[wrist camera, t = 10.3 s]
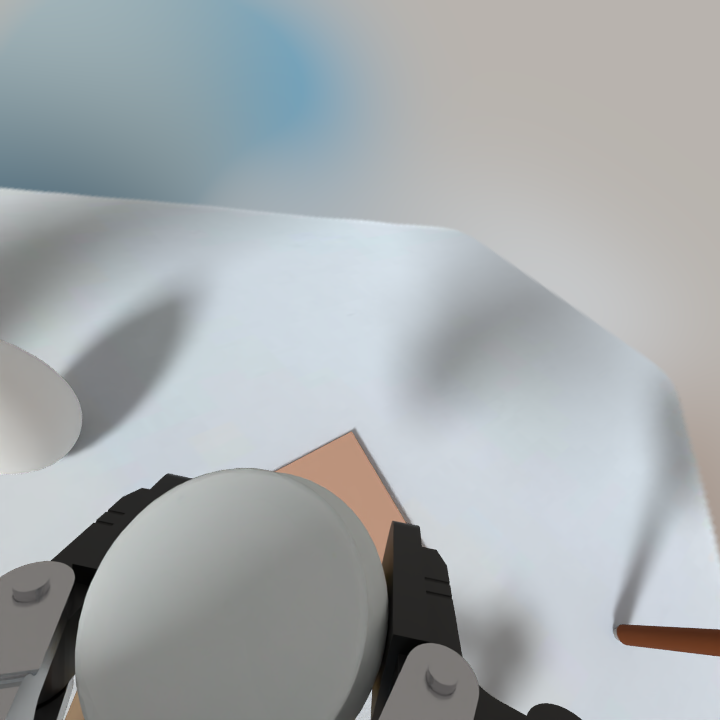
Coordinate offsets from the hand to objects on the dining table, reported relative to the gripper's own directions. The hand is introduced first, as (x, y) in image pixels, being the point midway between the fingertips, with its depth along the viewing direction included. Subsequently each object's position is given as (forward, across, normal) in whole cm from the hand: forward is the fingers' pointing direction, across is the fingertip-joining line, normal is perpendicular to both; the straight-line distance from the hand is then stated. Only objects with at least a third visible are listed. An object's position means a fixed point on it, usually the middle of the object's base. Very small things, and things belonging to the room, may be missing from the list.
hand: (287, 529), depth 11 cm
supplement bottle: (+2, 0, +4) cm, 5 cm away
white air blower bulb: (+20, +22, +12) cm, 32 cm away
